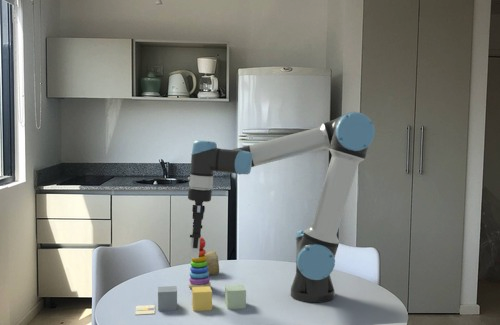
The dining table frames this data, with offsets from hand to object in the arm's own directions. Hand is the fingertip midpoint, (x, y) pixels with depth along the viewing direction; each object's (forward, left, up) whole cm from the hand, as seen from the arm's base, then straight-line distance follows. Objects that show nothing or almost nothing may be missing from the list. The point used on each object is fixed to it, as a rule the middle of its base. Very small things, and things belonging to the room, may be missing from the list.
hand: (194, 252), depth 172 cm
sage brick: (-13, +3, -18) cm, 22 cm away
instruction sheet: (+16, +3, -17) cm, 24 cm away
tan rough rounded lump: (-8, -36, -18) cm, 41 cm away
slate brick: (+9, +1, -18) cm, 20 cm away
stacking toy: (-3, -19, -18) cm, 26 cm away
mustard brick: (-2, +3, -18) cm, 18 cm away
